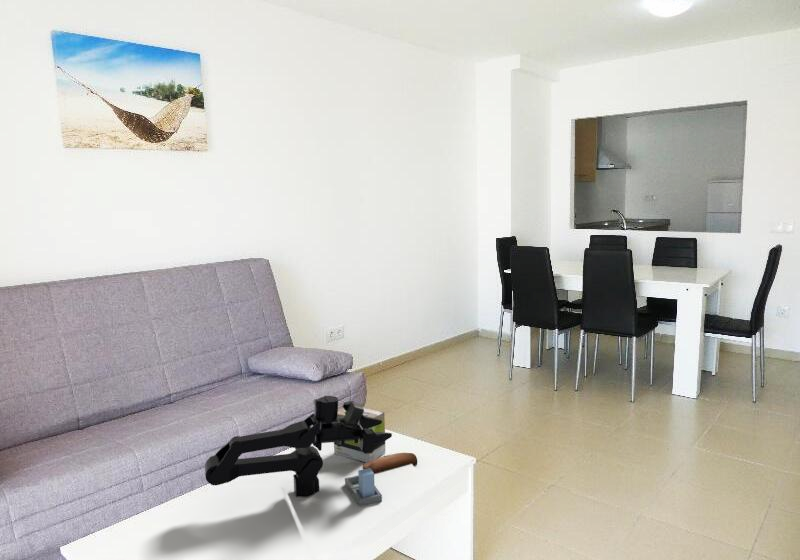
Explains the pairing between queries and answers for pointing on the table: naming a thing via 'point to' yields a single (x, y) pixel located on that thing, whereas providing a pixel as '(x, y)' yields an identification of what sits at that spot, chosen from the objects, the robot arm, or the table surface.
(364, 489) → the plug
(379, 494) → the panel
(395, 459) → the sunglasses case
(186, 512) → the table surface
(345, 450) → the tea box
